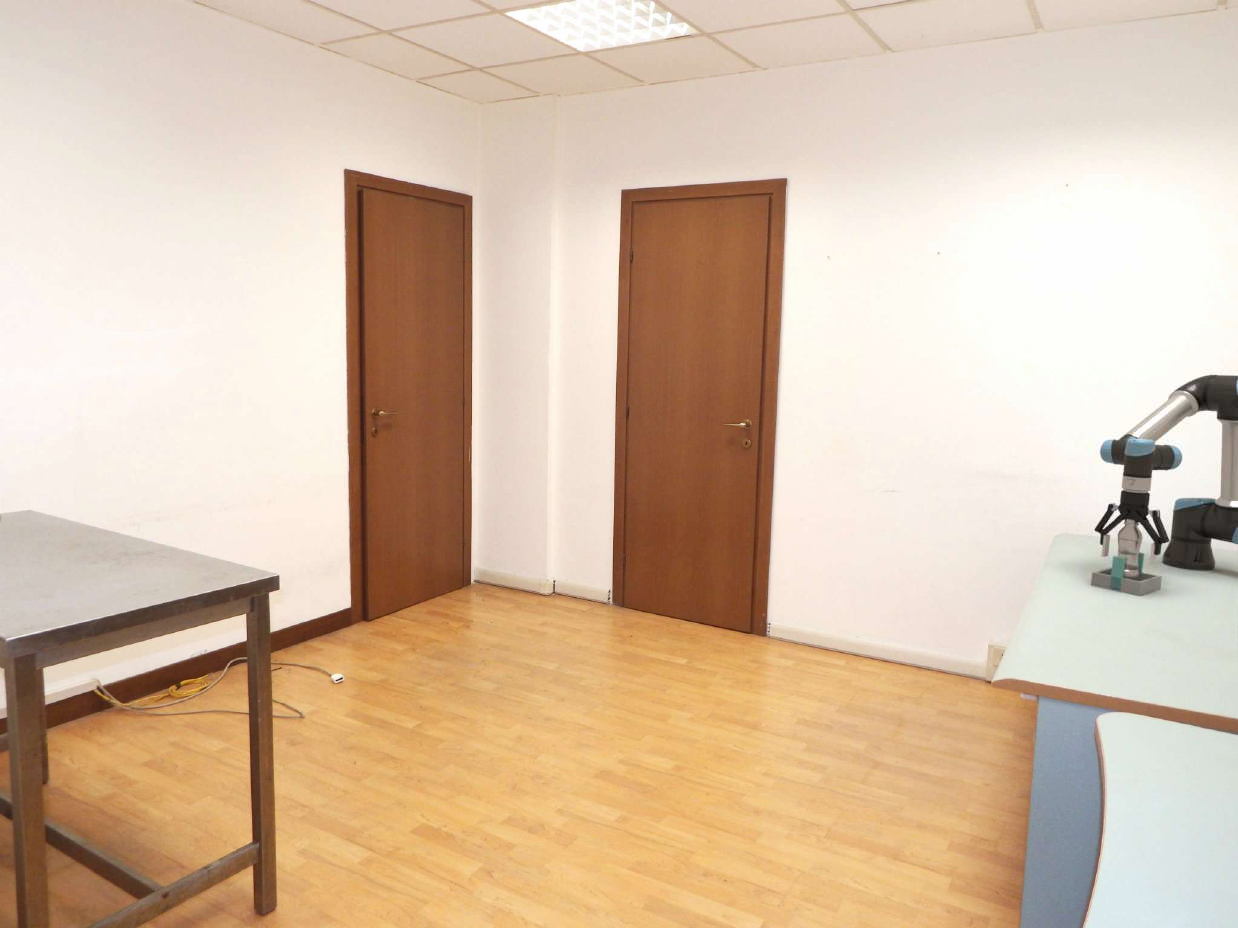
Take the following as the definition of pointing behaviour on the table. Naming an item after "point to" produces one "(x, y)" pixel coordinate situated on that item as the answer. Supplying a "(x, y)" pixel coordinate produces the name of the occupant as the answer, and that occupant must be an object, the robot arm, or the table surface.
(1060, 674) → the table surface
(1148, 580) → the tray
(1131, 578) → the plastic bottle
